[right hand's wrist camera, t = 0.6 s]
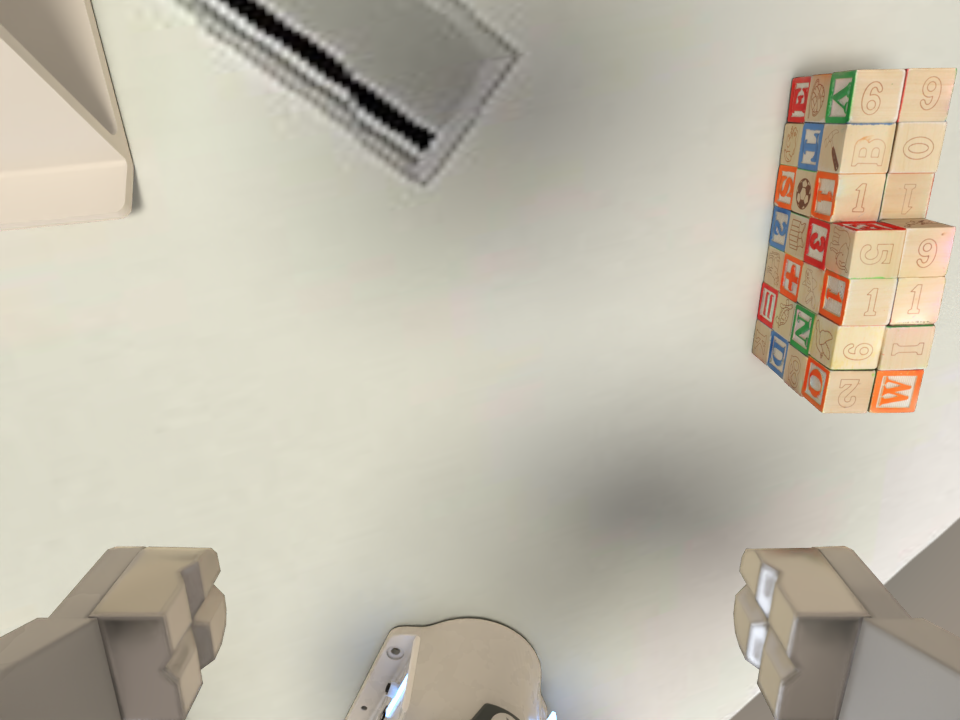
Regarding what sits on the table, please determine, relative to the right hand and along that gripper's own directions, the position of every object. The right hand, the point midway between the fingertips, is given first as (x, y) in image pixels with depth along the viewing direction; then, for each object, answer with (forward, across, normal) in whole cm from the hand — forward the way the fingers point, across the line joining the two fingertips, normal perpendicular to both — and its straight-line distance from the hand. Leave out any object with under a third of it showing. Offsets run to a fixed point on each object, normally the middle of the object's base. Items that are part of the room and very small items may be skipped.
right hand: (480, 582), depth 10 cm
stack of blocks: (+44, -26, +1) cm, 51 cm away
